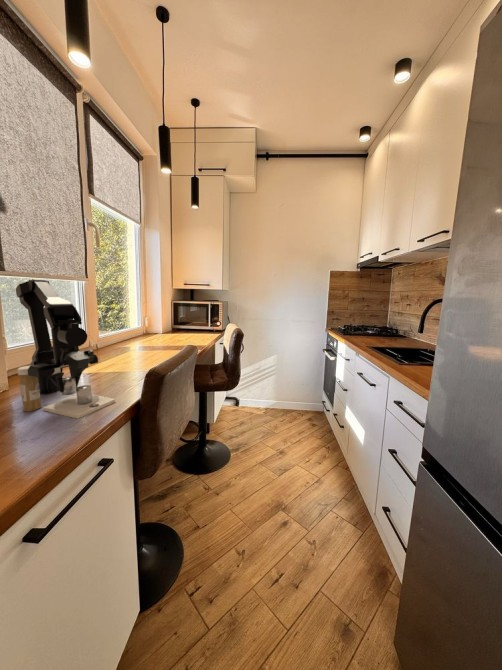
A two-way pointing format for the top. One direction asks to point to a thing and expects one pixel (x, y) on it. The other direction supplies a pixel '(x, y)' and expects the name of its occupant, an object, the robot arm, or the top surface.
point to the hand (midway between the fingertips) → (68, 390)
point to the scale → (78, 406)
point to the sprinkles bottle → (29, 390)
